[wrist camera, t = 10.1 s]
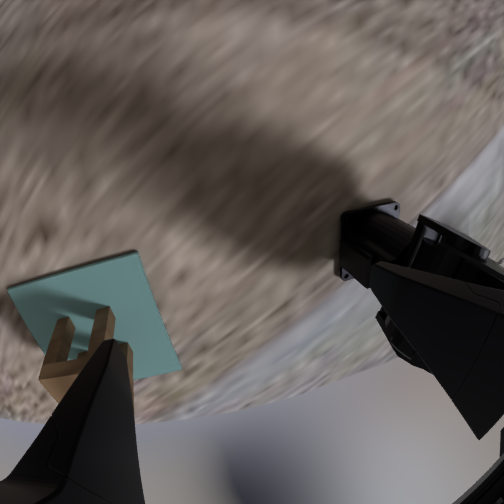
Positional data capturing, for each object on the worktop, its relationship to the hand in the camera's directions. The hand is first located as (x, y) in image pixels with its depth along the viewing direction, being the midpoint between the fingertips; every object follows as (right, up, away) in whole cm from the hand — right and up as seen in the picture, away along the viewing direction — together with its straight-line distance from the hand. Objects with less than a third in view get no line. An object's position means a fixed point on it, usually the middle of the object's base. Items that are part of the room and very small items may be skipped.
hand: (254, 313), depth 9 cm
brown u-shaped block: (-13, -5, +11) cm, 18 cm away
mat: (-13, -5, +12) cm, 18 cm away
